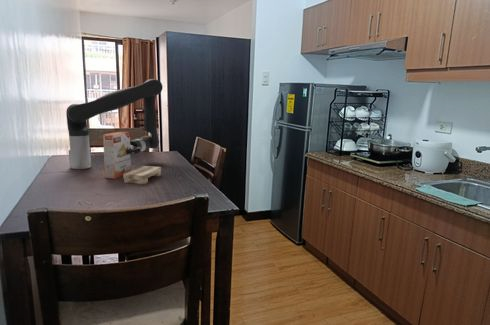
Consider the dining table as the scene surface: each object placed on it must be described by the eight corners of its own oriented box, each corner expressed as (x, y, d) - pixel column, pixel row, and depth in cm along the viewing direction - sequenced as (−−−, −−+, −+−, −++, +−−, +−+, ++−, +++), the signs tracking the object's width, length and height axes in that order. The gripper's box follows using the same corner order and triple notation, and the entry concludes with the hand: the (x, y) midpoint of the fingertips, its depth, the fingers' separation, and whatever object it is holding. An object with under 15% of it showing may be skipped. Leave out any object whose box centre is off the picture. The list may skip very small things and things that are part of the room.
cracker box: (116, 179, 152) (113, 135, 147) (104, 178, 153) (101, 134, 148) (132, 172, 165) (130, 131, 161) (121, 171, 166) (119, 131, 162)
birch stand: (123, 182, 147) (123, 174, 146) (142, 173, 164) (142, 165, 163) (144, 184, 145) (143, 175, 144) (161, 174, 163) (161, 167, 162)
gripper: (123, 138, 174) (105, 143, 158) (148, 140, 172) (132, 145, 156) (123, 152, 176) (106, 158, 160) (148, 154, 173) (133, 160, 158)
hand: (119, 151), depth 158 cm, fingers open, 8 cm apart
